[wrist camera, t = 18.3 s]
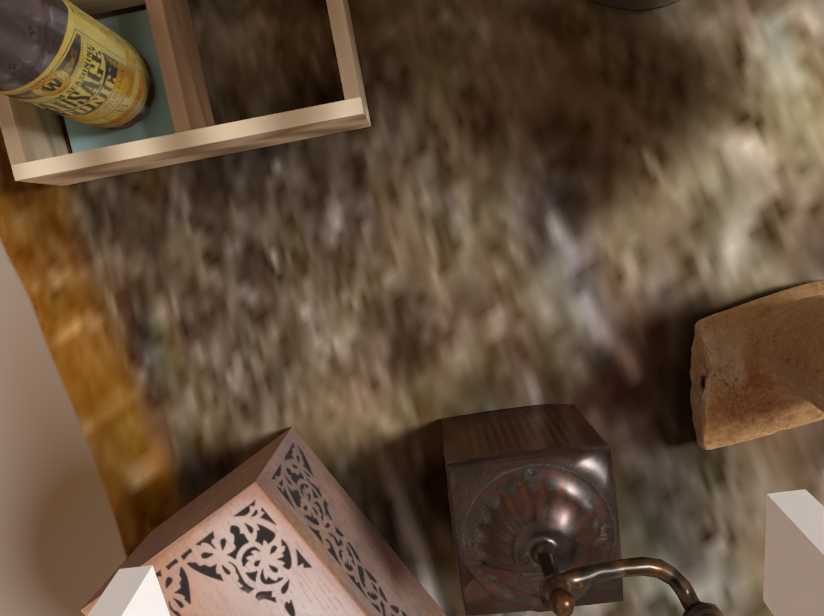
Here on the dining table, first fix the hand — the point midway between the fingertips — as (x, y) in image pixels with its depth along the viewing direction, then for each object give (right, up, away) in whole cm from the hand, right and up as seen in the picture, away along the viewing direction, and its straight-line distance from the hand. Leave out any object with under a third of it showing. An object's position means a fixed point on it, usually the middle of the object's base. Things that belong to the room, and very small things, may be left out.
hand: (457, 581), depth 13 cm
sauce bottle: (-22, +22, +29) cm, 42 cm away
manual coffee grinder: (+9, -7, +32) cm, 34 cm away
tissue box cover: (-8, -18, +35) cm, 40 cm away
